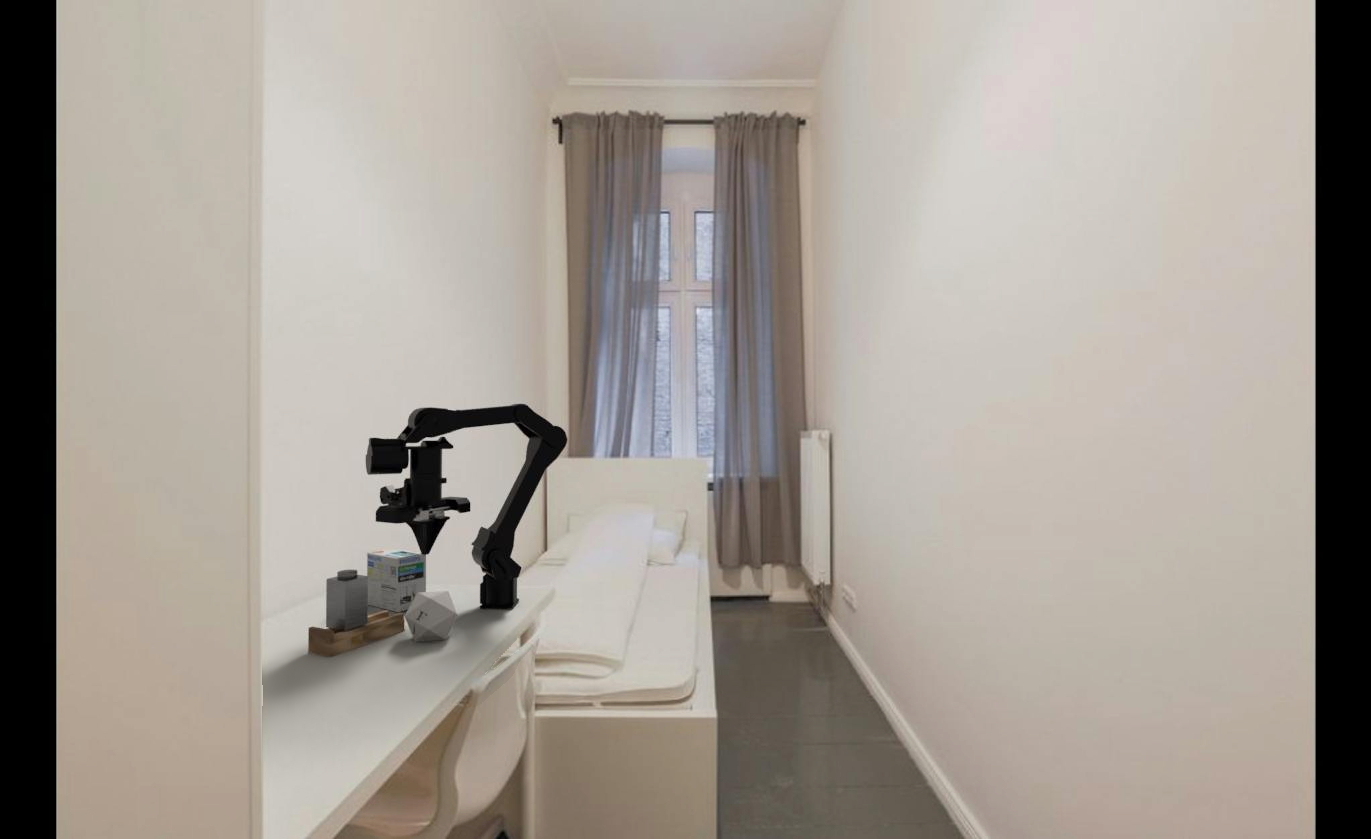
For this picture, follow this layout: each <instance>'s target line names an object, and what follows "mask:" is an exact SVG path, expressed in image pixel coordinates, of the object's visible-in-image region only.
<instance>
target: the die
mask: <svg viewBox="0 0 1371 839" xmlns="http://www.w3.org/2000/svg"><path fill="white" fill-rule="evenodd" d="M404 618H405V621H406V623H407V625H408V628H409V631H410V633H411V635H412V638H413V641H414V642H415V643H416V642H419V643H420V642H429V641H445V640H447V639H448V637H449V635H450V633H451V631H452V628H453V626H454V624H455V622H456V620H457V618H458V613H457V610H456V608H455V605H454V603H453V599H452V597H451V595H450V592H449V590H440V591H426V592H418V593H417V595H416V596H415V598H414V600H413V602H412V603H411V605H410V607H409V609H408V610H406V613H405V614H404Z"/></svg>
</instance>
